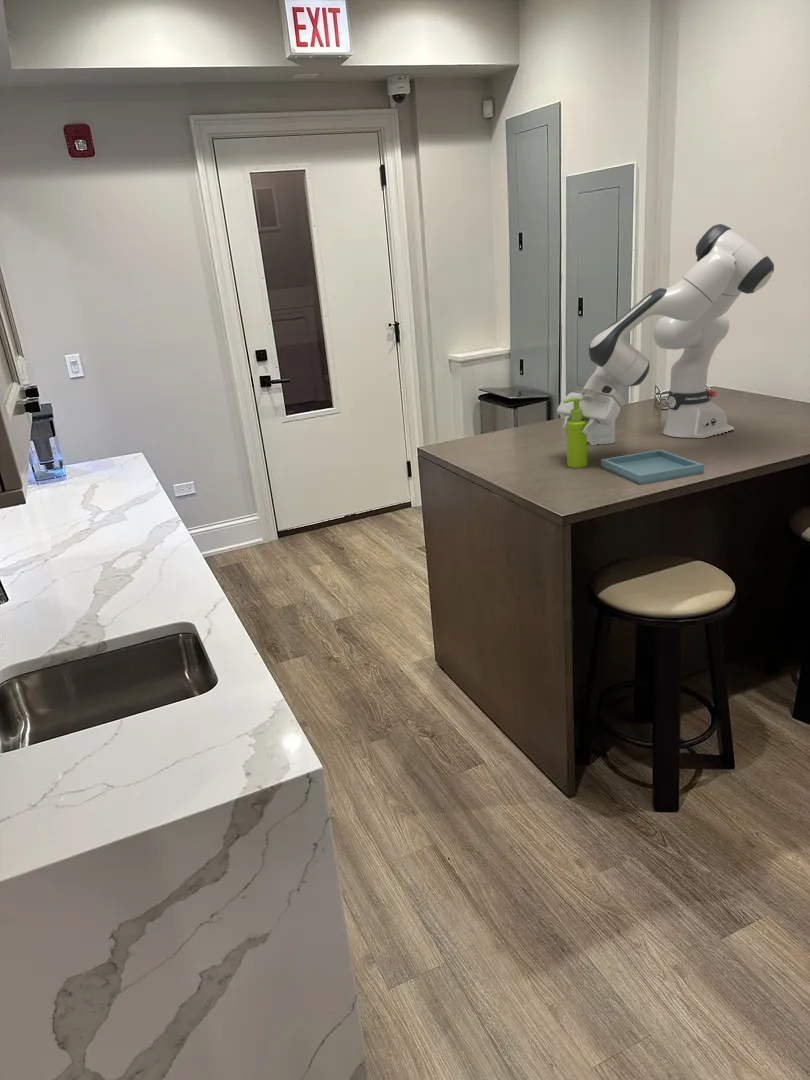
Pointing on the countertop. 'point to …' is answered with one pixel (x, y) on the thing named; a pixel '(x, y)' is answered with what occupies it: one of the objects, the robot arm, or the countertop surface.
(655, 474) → the tray
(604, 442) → the skincare box
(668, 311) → the robot arm
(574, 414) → the soap dispenser
